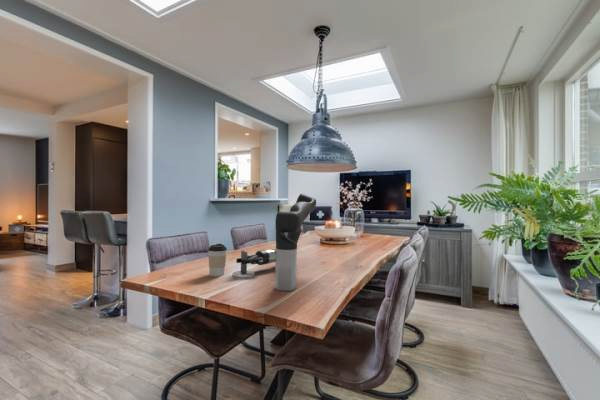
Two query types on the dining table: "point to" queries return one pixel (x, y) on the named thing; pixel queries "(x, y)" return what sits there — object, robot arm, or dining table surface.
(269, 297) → the dining table surface
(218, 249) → the coffee cup
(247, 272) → the grey post on base
